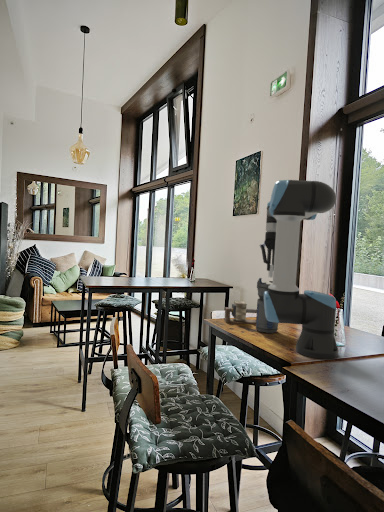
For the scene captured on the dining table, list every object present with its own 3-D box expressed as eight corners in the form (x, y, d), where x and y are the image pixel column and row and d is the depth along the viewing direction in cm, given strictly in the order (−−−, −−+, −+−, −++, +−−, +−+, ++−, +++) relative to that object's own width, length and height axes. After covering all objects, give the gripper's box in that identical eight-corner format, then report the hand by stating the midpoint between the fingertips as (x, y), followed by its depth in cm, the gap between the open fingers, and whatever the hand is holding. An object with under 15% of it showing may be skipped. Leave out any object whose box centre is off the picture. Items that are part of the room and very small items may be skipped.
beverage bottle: (285, 334, 158) (289, 280, 157) (257, 333, 157) (260, 279, 156) (278, 329, 168) (281, 278, 168) (251, 328, 167) (254, 277, 166)
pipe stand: (264, 321, 184) (265, 308, 184) (268, 324, 177) (269, 311, 177) (224, 319, 183) (224, 306, 183) (226, 322, 176) (226, 309, 176)
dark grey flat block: (233, 314, 183) (234, 304, 182) (235, 316, 177) (236, 305, 177) (231, 314, 183) (232, 304, 182) (233, 316, 177) (233, 305, 177)
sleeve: (242, 317, 184) (243, 301, 184) (245, 320, 176) (246, 303, 176) (233, 316, 184) (234, 300, 184) (235, 320, 176) (236, 303, 175)
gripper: (282, 232, 182) (280, 277, 182) (258, 231, 181) (256, 276, 181) (287, 232, 174) (285, 278, 174) (262, 230, 173) (259, 277, 173)
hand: (270, 277), depth 178 cm, fingers closed
